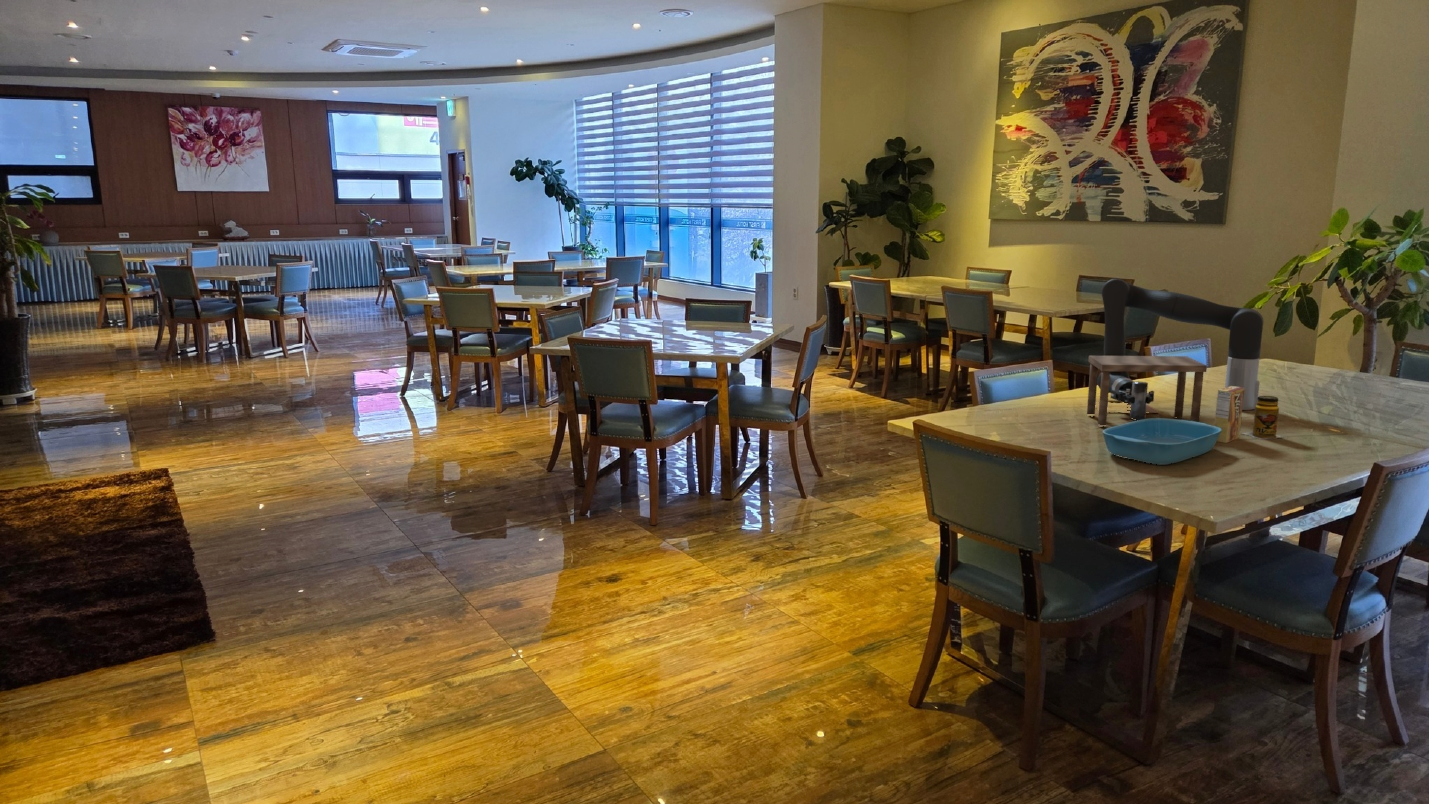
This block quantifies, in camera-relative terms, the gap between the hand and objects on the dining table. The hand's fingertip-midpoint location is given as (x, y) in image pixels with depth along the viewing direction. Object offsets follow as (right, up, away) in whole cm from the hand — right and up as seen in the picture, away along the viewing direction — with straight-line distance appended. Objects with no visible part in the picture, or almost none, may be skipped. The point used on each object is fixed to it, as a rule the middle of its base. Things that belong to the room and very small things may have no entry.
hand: (1140, 400), depth 293 cm
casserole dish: (-12, -15, -37) cm, 41 cm away
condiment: (+27, -11, -20) cm, 35 cm away
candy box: (+14, -12, -24) cm, 30 cm away
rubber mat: (+3, -3, +19) cm, 20 cm away
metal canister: (0, -6, +3) cm, 7 cm away
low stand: (0, -7, -1) cm, 7 cm away
